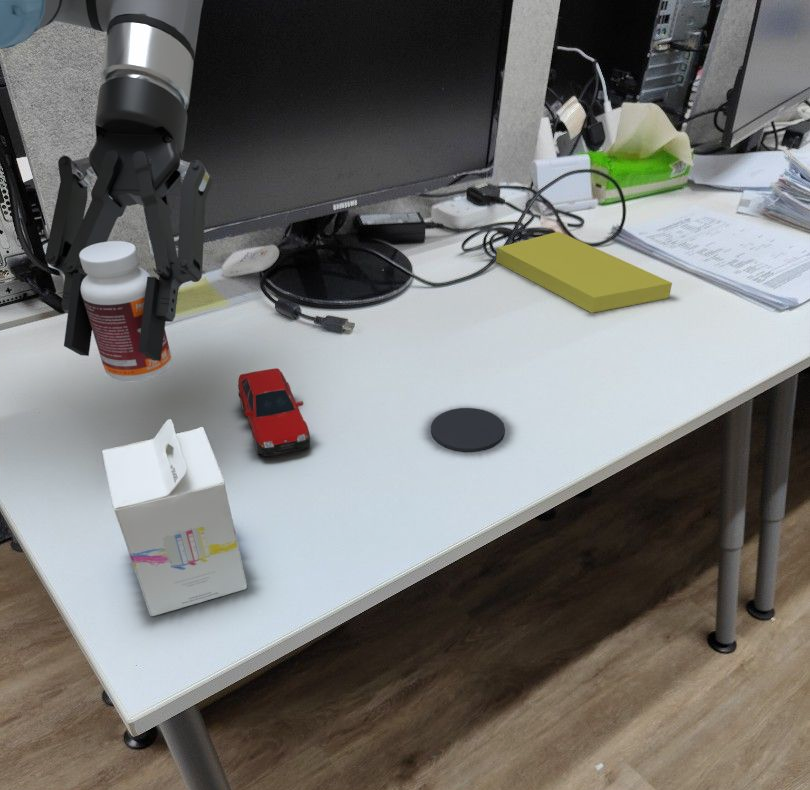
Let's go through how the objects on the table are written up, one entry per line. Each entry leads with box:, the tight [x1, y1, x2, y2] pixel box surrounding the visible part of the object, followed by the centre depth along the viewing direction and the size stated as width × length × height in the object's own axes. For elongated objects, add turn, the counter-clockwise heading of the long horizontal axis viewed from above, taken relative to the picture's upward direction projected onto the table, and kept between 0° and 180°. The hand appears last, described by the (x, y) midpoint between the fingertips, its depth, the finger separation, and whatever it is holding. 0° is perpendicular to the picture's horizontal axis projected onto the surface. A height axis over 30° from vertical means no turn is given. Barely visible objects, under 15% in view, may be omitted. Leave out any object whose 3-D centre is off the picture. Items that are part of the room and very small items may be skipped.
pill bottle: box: [79, 240, 172, 383], centre depth 68 cm, size 6×6×11 cm
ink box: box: [101, 418, 248, 617], centre depth 62 cm, size 9×8×13 cm
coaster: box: [430, 407, 506, 453], centre depth 83 cm, size 8×8×1 cm
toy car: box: [237, 367, 311, 457], centre depth 83 cm, size 6×14×5 cm, turn 19°
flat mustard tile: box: [495, 231, 673, 314], centre depth 111 cm, size 12×2×24 cm
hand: (112, 353), depth 67 cm, fingers closed on pill bottle, 6 cm apart
